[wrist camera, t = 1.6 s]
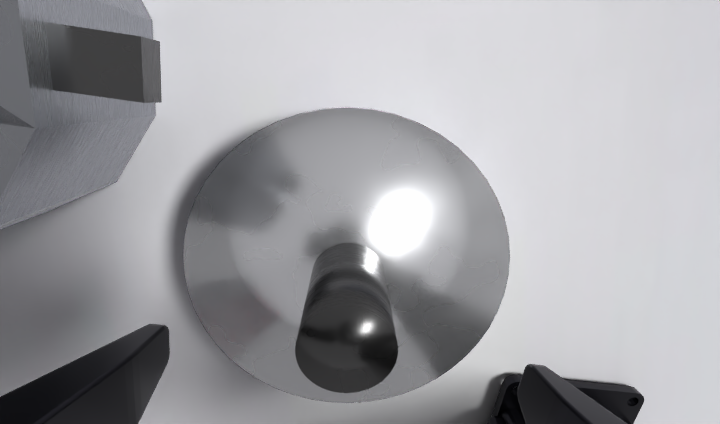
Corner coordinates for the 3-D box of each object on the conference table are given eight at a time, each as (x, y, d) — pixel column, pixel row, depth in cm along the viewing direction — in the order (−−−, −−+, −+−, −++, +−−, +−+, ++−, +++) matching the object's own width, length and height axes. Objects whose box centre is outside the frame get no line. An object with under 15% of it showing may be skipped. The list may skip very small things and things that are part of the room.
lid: (525, 130, 13) (651, 156, 8) (455, 381, 17) (507, 523, 11) (204, 83, 12) (86, 74, 7) (202, 357, 16) (123, 496, 10)
